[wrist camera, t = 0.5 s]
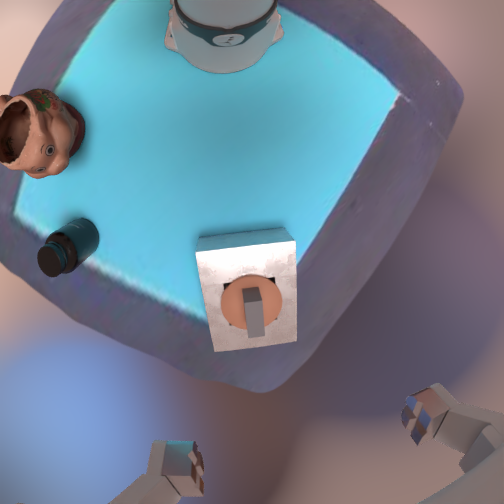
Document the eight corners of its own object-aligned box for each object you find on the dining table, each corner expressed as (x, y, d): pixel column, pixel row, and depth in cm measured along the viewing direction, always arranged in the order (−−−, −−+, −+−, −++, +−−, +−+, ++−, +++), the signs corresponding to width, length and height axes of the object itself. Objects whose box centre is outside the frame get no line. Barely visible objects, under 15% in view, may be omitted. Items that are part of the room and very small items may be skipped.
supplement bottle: (87, 210, 40) (51, 230, 29) (106, 244, 42) (75, 273, 31) (62, 229, 40) (25, 252, 29) (80, 260, 43) (49, 291, 32)
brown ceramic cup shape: (15, 133, 32) (-33, 136, 19) (47, 77, 30) (1, 63, 17) (76, 188, 38) (29, 205, 25) (114, 127, 36) (72, 120, 23)
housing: (199, 237, 44) (195, 252, 37) (284, 227, 45) (295, 240, 38) (215, 327, 50) (214, 351, 44) (287, 318, 51) (296, 340, 45)
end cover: (217, 264, 44) (216, 295, 35) (273, 257, 45) (287, 286, 35) (224, 311, 48) (226, 349, 38) (276, 305, 48) (288, 340, 39)
